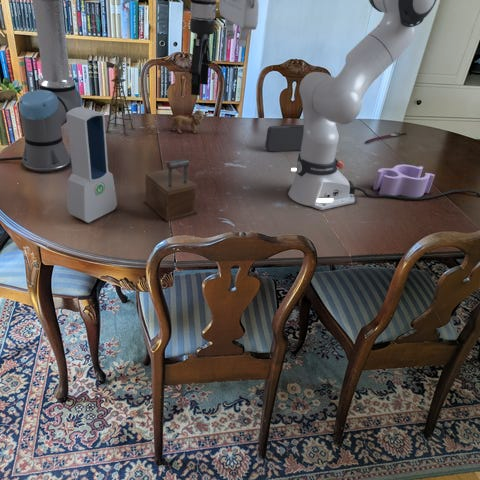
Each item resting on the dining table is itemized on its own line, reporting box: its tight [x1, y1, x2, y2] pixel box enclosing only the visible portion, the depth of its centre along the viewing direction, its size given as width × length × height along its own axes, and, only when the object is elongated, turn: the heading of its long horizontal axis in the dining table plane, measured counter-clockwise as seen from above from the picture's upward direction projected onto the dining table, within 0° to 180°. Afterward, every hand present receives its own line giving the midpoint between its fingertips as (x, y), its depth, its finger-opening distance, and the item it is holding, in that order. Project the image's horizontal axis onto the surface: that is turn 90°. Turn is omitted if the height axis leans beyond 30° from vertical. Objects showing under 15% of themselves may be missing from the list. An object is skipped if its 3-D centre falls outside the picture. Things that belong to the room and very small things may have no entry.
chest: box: [145, 177, 196, 222], centre depth 140 cm, size 13×10×9 cm
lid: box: [145, 158, 197, 195], centre depth 135 cm, size 13×10×9 cm
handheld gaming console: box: [264, 124, 304, 152], centre depth 189 cm, size 23×3×10 cm, turn 108°
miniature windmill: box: [105, 53, 134, 136], centre depth 184 cm, size 9×8×30 cm
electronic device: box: [66, 106, 118, 224], centre depth 127 cm, size 12×8×30 cm, turn 148°
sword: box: [365, 132, 406, 144], centre depth 214 cm, size 31×3×1 cm, turn 126°
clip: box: [372, 164, 436, 198], centre depth 166 cm, size 20×12×7 cm, turn 109°
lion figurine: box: [168, 109, 204, 134], centre depth 195 cm, size 15×5×9 cm, turn 110°
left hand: (199, 89), depth 153 cm, fingers open, 13 cm apart
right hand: (235, 42), depth 121 cm, fingers open, 8 cm apart
